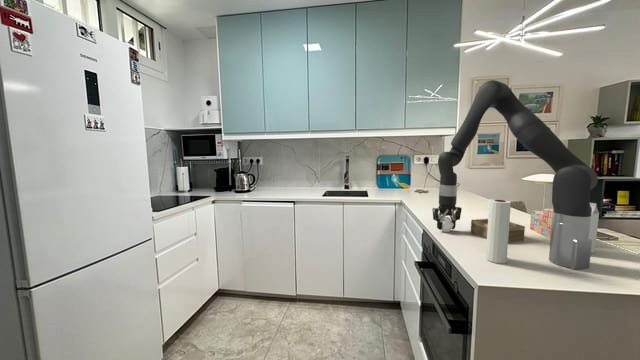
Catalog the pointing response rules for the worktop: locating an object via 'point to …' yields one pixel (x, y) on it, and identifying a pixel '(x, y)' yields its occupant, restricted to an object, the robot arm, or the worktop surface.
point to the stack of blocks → (542, 222)
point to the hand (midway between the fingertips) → (446, 228)
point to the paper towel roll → (498, 230)
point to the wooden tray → (481, 227)
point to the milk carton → (593, 225)
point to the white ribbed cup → (447, 224)
